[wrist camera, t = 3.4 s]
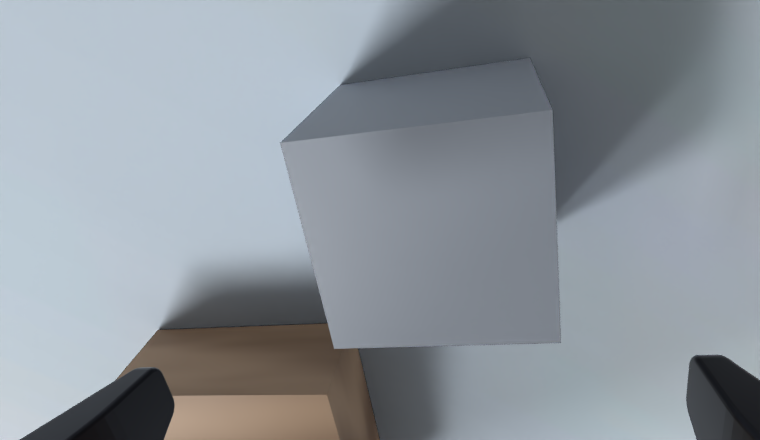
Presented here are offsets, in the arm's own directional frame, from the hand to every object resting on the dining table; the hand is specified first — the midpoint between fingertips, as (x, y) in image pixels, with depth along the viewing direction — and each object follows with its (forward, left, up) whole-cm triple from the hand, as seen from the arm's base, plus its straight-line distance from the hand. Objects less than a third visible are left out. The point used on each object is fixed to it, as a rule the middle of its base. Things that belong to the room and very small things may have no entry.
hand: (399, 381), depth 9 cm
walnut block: (-11, +9, -10) cm, 17 cm away
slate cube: (0, 0, -10) cm, 10 cm away
